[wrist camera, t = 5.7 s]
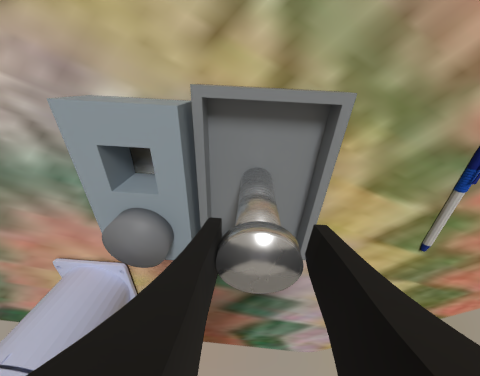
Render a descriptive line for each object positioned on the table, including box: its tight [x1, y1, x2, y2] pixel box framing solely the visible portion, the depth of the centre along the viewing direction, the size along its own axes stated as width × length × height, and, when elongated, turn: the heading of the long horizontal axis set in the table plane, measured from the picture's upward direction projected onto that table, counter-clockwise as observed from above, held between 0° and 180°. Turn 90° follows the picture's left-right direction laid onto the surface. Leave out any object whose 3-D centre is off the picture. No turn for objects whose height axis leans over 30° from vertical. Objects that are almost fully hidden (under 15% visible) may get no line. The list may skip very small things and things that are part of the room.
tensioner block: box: [47, 95, 201, 268], centre depth 14 cm, size 12×7×4 cm, turn 177°
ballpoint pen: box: [420, 147, 480, 251], centre depth 15 cm, size 10×1×1 cm, turn 3°
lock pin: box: [216, 168, 303, 294], centre depth 11 cm, size 4×4×8 cm
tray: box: [190, 84, 357, 260], centre depth 14 cm, size 13×9×2 cm
